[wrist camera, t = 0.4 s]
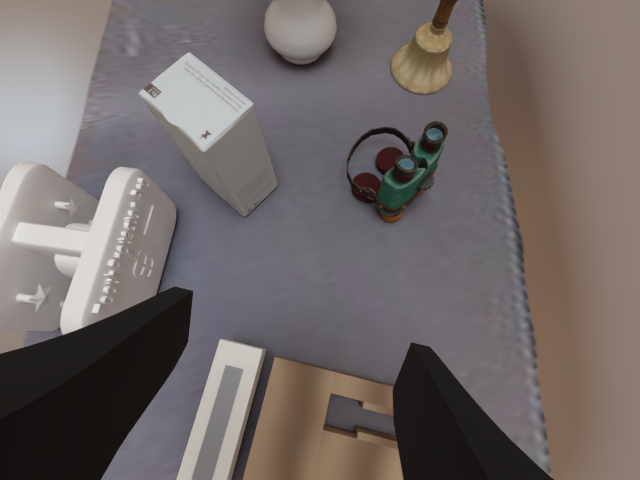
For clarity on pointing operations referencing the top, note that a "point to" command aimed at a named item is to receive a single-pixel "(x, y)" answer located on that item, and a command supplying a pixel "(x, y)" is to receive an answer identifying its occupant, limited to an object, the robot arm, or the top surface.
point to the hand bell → (426, 55)
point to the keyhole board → (319, 428)
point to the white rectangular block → (223, 412)
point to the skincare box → (213, 131)
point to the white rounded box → (78, 247)
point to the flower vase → (300, 28)
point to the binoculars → (400, 170)
